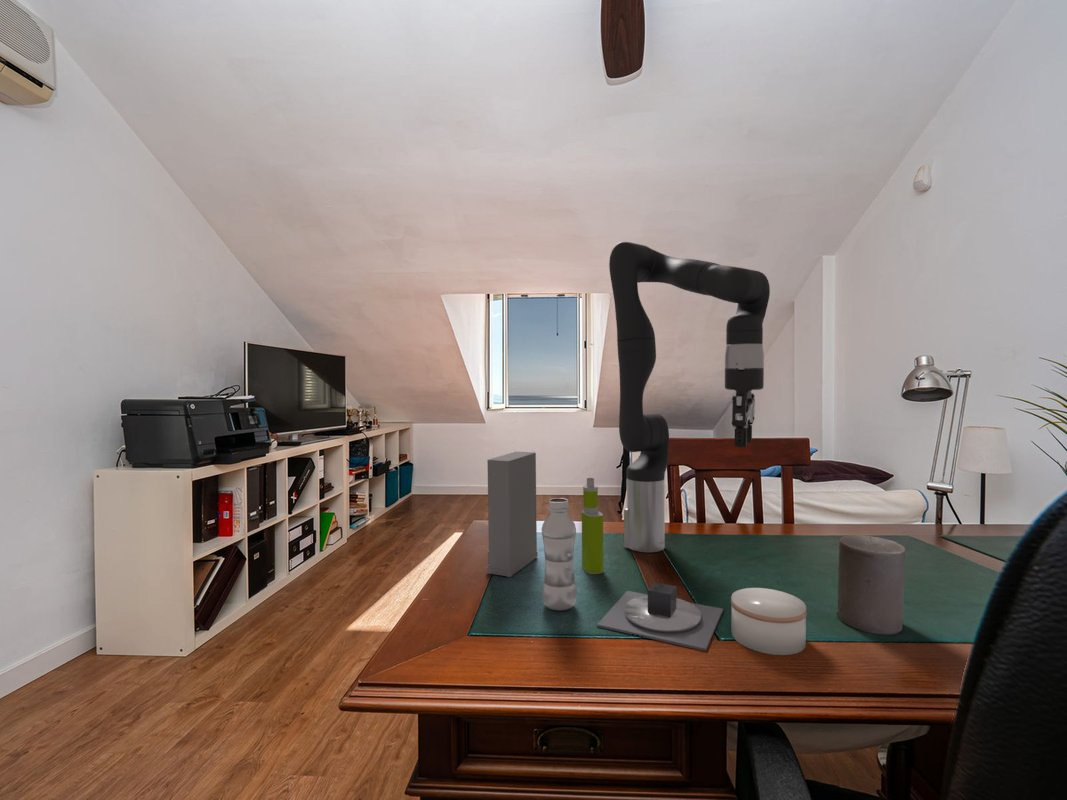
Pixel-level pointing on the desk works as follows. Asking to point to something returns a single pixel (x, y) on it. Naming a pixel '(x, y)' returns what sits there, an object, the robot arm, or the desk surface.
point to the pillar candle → (871, 584)
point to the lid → (662, 611)
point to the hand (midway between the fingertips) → (743, 444)
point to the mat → (690, 639)
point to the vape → (592, 530)
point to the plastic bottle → (559, 557)
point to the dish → (768, 621)
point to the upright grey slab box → (511, 512)
